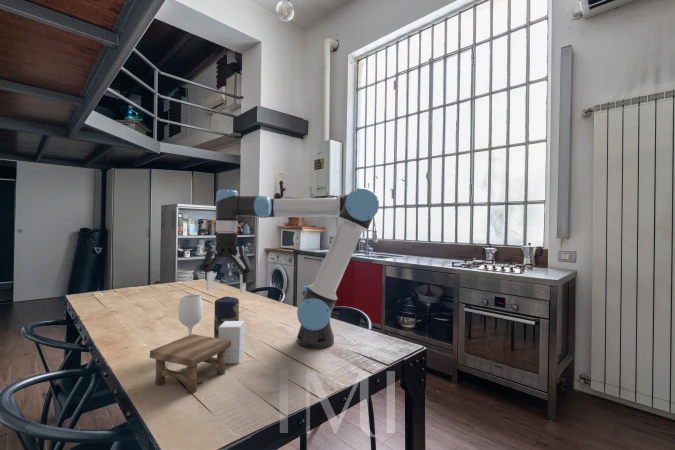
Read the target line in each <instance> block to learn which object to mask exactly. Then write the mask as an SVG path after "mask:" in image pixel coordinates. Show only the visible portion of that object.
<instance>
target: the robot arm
mask: <svg viewBox="0 0 675 450" xmlns="http://www.w3.org/2000/svg"><path fill="white" fill-rule="evenodd" d="M377 196H378V195H376V193H375V192H374V191H373V190H371V189H369V188H368V187H367V188H366V187H358V188H355V189H353V190H351V191H350V192H349V193H348V194H340V195H337V196H336V197H312V198H311V197H308V198H307V197H305V198H301V197H300V198H270V196H265V195H239V193H238V191H237V190H235V189H234V190H233V189H219V190H217V191H216V198H215V232H216V233H215V244H216V245H215V244H212V245H208V246H207V252H206V255H205V256H204V259H203V261H202V263H201V265H200V268H199V269H200V271H204V280H205V282H206V291H211V290H213V289H214V271H213V269H214V267H215V266H216V265H217V264H218V262H219V261H220V260H221V259H231V260H232V261H233V263H234V264H235V265H236V267H237V268H238V269H239V271H240V272H241V273H239V293H244V292H246V291H247V287H246V286H247V283H248V281H249V273H251V272H253V271H254V268H253V266H252V263H251V261H250V259H249V256H248V255H247V251H246V247H245V245H240V246H238V233H237V232H238V217H254V218H261V219H265V218H306V217H307V218H309V217H310V218H311V217H313V218H315V217H336V218H338V220H339V222H340V223H339V226H338V228H337V230H336V232H335V234H334V237H333V239H332V242H331V243H330V246H329V248H328V250H327V252H326V254H325V257H324V259H323V262H322V264H321V266H320V269H319V271H318V273H317V275H316V278H315V280H314V282H313V283H310V284H309V285H304V286H302V290H301V301H300V304H299V305H298V307H297V310H296V314H297V320H298V322H299V323H300V326H299V330H298V333H297V336H296V344H297V345H298V346H299V347H302V348H304V349H311V350H319V349H326V348H330V347H331V346H333V345H334V344H335V336H334V332H333V329H332V325H331V316H332V315H331V314H332V311H333V309H334V307H335V305H336V302H337V301H338V296H337V290H338V287H339V285H340V283H341V281H342V279H343V276H344V274H345V271H346V269H347V267H348V265H349V263H350V260H351V258H352V256H353V254H354V251H355V249H356V246H357V245H358V243H359V240H360V237H361V235H362V233H363V232H366V231H368V230H369V227H370V225H371V224H372V221H373V219H374V217H375V216H376V214H377V213H378V211H379V208H380V203H379V199H378V197H377ZM215 252H216V253H215ZM237 252H238V253H239V254H238V253H237ZM214 254H215V255H214ZM213 256H214V257H213Z"/></svg>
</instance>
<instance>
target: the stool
mask: <svg viewBox="0 0 675 450" xmlns="http://www.w3.org/2000/svg"><path fill="white" fill-rule="evenodd" d="M230 347H231V341H229V340H223V339H218V338H214V337H211V336H205V335H201V334H200V335H199V334H194V333H192V334H191V335H189V334H188V335H186V336H184V337H181V338H180V339H179V338H178V339H177V340H174V341H172V342H168V343H166V344H163V345H161V346H159V347H156V348H154V349H150V350H149V358H150V359H154V360H155V385H156V386H162V385H164V384H165V383H166V377H167V378H170V379H175V380H178V381H182V382H186V393H187V394H194V393H196V392H197V367H198V365H199V364H201V363H206V364H210V365H211V364H212V365H214V366H216V375H218V376H224V375H225V374H226V363H225V350H226V349H228V348H230ZM216 355H217V357H215V356H216ZM166 362H168V363H173V364H176V365H182V366H186V367H187V371H186V372H185V373H184V372H180V371H177V370H171V369H168V368H166Z"/></svg>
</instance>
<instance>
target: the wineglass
mask: <svg viewBox="0 0 675 450" xmlns="http://www.w3.org/2000/svg"><path fill="white" fill-rule="evenodd" d="M203 307H204V305H203V300H202V295H200V294H198V293H197V294H194V293H193V294H185V295H182V296H180V299H179V303H178V308H177V309H178V310H177V312H178V313H177V316H178V317H177V318H178V320H179V322H180V323H181V324H182V325H183V326H185V327H186V328H187V329H188V336H189V335H191V334H193V328H194V327H195V326H196V325H197V324H199V322H200V321H201V320H202V319H203V318H202V317H203V312H204V308H203Z"/></svg>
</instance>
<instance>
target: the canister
mask: <svg viewBox="0 0 675 450" xmlns="http://www.w3.org/2000/svg"><path fill="white" fill-rule="evenodd" d="M213 321H214V322H213V333H214V334H213V338H218V339H219V329H218V327H219V326H221V324H222V323H224V322H225V321H240V300H239V298H237V297H234V296H233V297H232V296H222V297H221V298H218V299H216V300H215V301H214V320H213Z"/></svg>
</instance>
